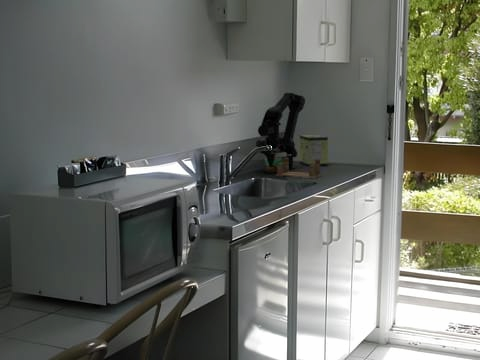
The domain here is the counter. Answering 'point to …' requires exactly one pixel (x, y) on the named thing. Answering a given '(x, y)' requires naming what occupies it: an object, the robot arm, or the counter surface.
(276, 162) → the food container
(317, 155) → the protein box
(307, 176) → the bracket
